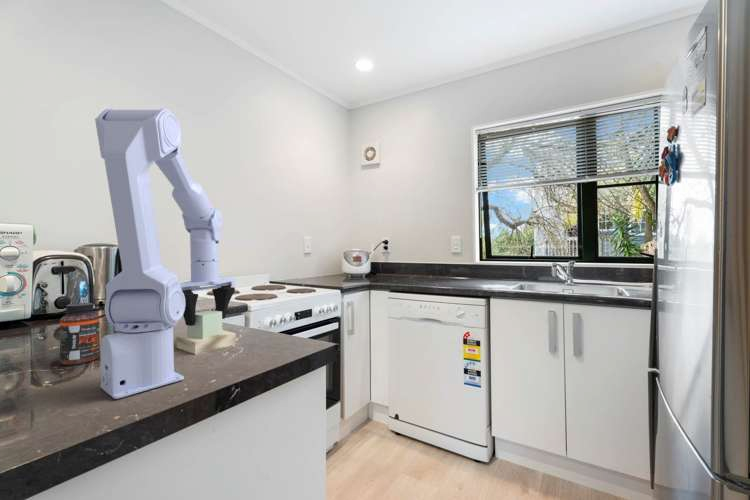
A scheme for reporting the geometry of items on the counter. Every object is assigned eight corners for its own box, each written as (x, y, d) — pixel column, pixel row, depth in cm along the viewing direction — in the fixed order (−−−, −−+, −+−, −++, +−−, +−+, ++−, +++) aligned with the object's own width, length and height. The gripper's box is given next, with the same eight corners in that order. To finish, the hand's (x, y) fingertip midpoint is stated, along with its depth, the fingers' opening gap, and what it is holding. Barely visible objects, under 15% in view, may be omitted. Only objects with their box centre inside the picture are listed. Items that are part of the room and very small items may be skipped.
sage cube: (202, 338, 73) (202, 315, 73) (187, 336, 76) (187, 313, 75) (222, 333, 78) (222, 311, 78) (207, 331, 80) (206, 310, 80)
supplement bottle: (82, 366, 64) (80, 306, 64) (51, 366, 65) (49, 306, 65) (107, 356, 70) (106, 301, 70) (79, 356, 71) (77, 301, 71)
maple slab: (195, 356, 71) (195, 342, 71) (176, 349, 76) (176, 336, 76) (236, 346, 78) (235, 333, 78) (216, 340, 83) (216, 328, 83)
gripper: (185, 262, 69) (186, 330, 69) (243, 260, 81) (244, 316, 82) (164, 262, 72) (165, 327, 72) (223, 260, 85) (224, 314, 85)
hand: (206, 321), depth 77 cm, fingers open, 7 cm apart
